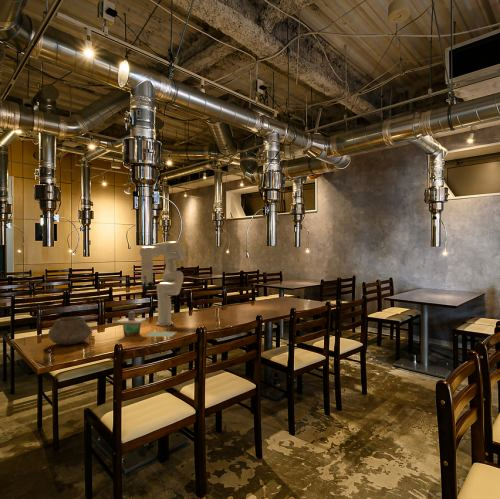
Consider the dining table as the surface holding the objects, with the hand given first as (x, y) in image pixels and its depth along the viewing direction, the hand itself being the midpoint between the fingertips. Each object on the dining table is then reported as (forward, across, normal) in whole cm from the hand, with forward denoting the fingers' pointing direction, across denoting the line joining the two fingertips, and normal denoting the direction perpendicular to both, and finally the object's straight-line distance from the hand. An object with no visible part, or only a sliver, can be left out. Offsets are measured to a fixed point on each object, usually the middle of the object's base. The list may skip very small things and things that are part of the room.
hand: (147, 290), depth 222 cm
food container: (+28, +12, -6) cm, 31 cm away
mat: (+28, +7, +11) cm, 31 cm away
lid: (+18, +12, -6) cm, 22 cm away
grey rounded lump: (+27, +30, -36) cm, 54 cm away
